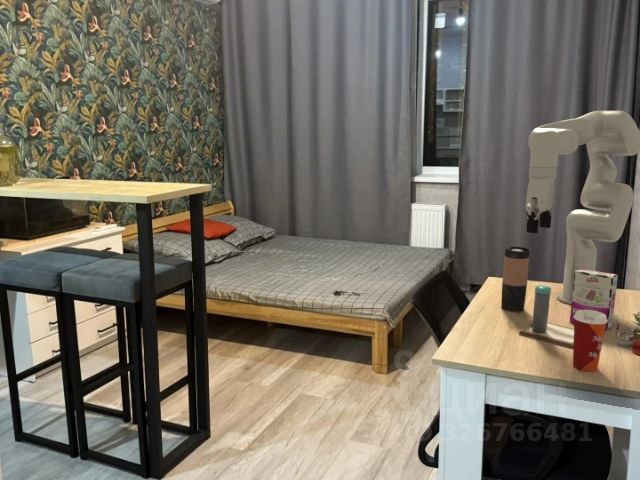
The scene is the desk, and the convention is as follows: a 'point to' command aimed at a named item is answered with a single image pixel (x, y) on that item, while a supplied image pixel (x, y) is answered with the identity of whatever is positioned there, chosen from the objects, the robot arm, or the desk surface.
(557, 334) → the clipboard
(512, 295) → the travel mug
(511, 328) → the desk surface
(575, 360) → the paper cup
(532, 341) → the desk surface
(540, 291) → the marker
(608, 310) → the candy bar box
